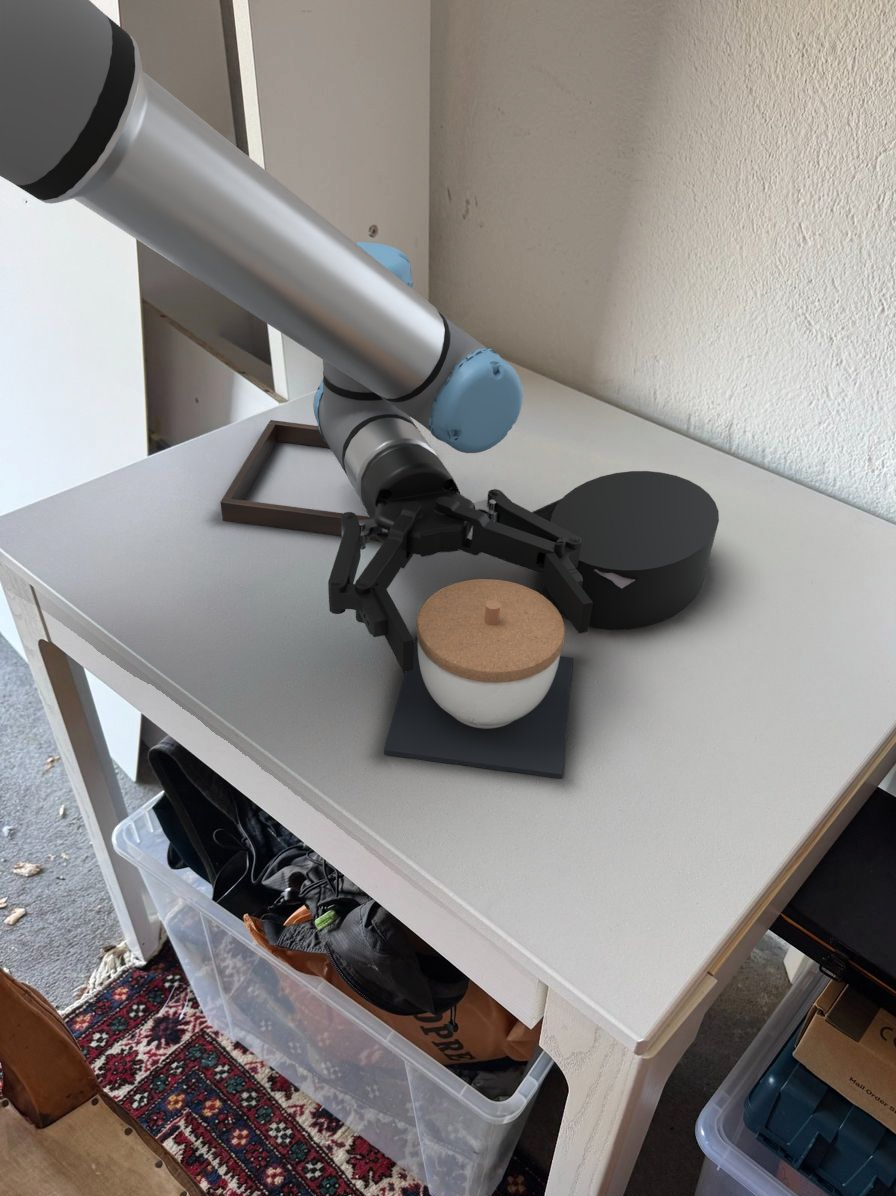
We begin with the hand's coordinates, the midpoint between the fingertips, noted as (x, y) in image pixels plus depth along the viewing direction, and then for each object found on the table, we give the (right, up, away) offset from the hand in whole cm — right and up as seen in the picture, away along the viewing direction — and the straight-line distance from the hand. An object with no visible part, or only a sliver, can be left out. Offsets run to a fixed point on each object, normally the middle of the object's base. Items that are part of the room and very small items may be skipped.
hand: (500, 637), depth 71 cm
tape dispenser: (+11, +7, +22) cm, 25 cm away
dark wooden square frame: (-17, +16, +28) cm, 37 cm away
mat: (-1, -5, +7) cm, 9 cm away
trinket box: (-1, -5, +7) cm, 8 cm away
